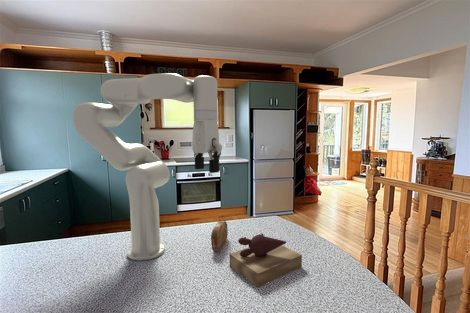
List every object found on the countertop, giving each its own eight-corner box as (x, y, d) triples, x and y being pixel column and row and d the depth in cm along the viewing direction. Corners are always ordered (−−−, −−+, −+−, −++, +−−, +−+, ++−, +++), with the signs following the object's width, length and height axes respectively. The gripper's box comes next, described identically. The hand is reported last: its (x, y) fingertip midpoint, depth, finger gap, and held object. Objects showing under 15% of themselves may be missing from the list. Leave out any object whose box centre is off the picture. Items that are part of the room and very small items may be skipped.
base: (229, 265, 81) (229, 253, 80) (270, 250, 91) (271, 239, 91) (258, 287, 69) (258, 273, 69) (301, 267, 80) (301, 255, 79)
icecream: (281, 229, 84) (237, 234, 83) (287, 232, 77) (238, 238, 76) (284, 250, 83) (239, 256, 82) (290, 256, 76) (241, 262, 75)
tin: (218, 256, 87) (218, 232, 87) (209, 255, 88) (209, 231, 87) (228, 238, 102) (228, 218, 101) (220, 237, 103) (220, 217, 102)
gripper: (183, 118, 85) (184, 168, 86) (208, 114, 71) (209, 175, 72) (203, 118, 89) (204, 166, 91) (230, 115, 75) (231, 172, 76)
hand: (206, 170), depth 81 cm, fingers open, 9 cm apart
